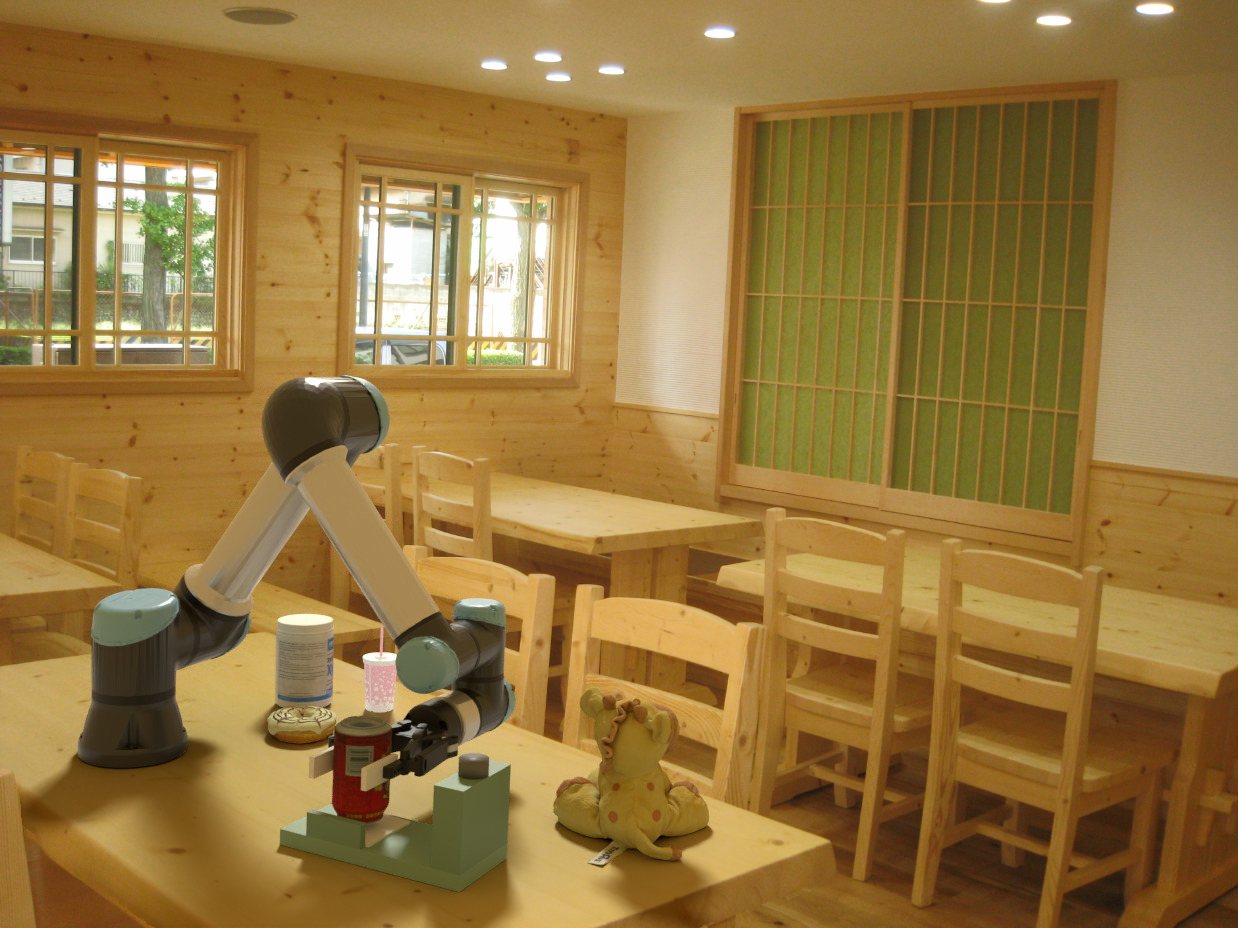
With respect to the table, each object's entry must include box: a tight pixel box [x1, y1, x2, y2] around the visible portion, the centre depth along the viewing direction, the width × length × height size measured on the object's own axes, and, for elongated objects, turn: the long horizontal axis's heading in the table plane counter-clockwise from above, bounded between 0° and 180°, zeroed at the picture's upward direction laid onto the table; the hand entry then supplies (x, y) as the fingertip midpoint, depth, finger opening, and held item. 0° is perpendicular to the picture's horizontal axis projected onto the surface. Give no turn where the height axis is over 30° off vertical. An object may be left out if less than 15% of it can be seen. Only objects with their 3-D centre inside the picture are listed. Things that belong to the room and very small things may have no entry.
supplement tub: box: [274, 613, 335, 708], centre depth 213 cm, size 10×10×15 cm
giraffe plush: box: [552, 686, 710, 866], centre depth 165 cm, size 20×24×19 cm
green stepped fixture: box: [279, 752, 512, 893], centre depth 155 cm, size 26×11×14 cm, turn 65°
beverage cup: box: [362, 626, 397, 713], centre depth 213 cm, size 6×6×14 cm
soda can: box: [331, 714, 392, 825], centre depth 156 cm, size 7×7×12 cm
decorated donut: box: [266, 706, 337, 745], centre depth 198 cm, size 10×11×4 cm
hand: (337, 773), depth 152 cm, fingers closed on soda can, 7 cm apart
